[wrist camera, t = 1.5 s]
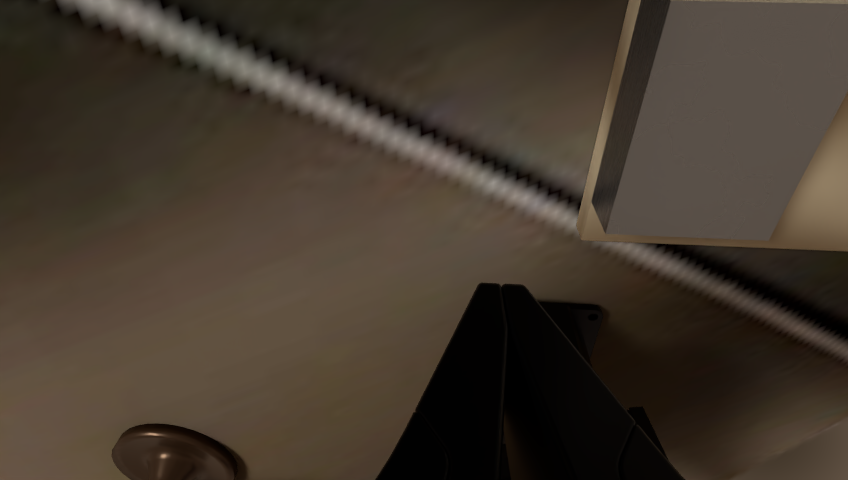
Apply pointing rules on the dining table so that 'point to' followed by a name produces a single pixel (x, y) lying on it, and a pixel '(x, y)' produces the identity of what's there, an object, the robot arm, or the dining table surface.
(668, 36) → the grey rectangular box
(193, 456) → the candlestick
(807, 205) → the board
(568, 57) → the dining table surface
